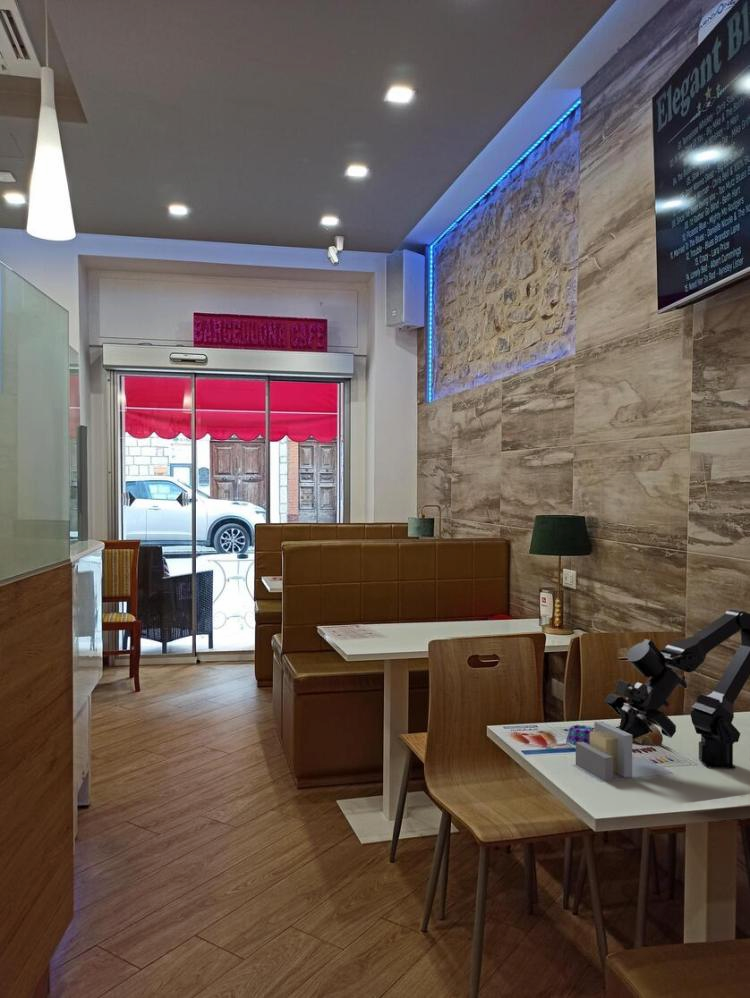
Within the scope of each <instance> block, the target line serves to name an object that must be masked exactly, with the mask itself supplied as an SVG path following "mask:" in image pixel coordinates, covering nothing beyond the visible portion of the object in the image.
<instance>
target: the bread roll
mask: <svg viewBox="0 0 750 998" xmlns="http://www.w3.org/2000/svg"><path fill="white" fill-rule="evenodd" d="M651 730H652V731H653V732H652V733H647V734H645V735H642V736H639V737H637V738H635V739H633V740H632V744H633V743H634V744H641V745H642V744H643V745H651V746H652V745H654V746H656V747H659V748H661V747H662V745H663V744H662V743H663V741H664V737H663V736H664V735H663V734H662V732H661V731H660V729H659V728H658V726H657V725H654V726H653V727H652V729H651Z"/></svg>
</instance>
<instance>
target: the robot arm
mask: <svg viewBox="0 0 750 998" xmlns="http://www.w3.org/2000/svg"><path fill="white" fill-rule="evenodd" d="M739 631H740V641H741V643H740V644H739V647H738V648H737V650H736V652H735V654H734V656H733V657H732V659H731V661H730V662H729V664H728V665H727V667H726V668H725V670H724V672H723V674H722V676H721V677H720V679H719V681H718V683H717V684H716V686H715V688H714V689H713V691H712V692H711V693H709V694H708V695H706V694H703V693H700V694H699V695H698V696H697V698H696V701H695V703H694V704H693V705H692V706H691V709H692V710H691V712H690V719H691V723H692V724H693V727H694V729H695V734H698V735H700V738H701V739H700V740H699V742H698V760H699V761H700V762H701V763H702V764H703V765H704V766H705V767H706V768H714V769H715V768H716V769H736V768H737V767H736V765H735V764H734V758H733V757H734V744H735V743H738V742H739V739H740V737H741V732H740V731H739V730H738V729H737V727H735V726H734V725H733V723H732V722H733V720H734V718H735V714H734V713H735V712H734V704H735V702H736V701H737V698H738V696H739V694H740V693H741V692H742V690H743V688H744V686H745V684H746V683H747V681H748V679H749V678H750V613H748V612H747V611H744V610H738V609H734V608H733V609H729V610H726V611H725V612H724V614H723V615H722V616H720V617H719V618H717V619H716V620H714V621H713V622H711V623H710V624H708V625H707V626H706V627H704V628H703V629H701V630H700V631H699V632H697V633H695V634H694V635H693V636H690V637H686V638H681V639H678V640H676V641H673V642H671V643H668V644H666V646H665V647H664V648H662V649H658V648H657V646H656V644H655V643H654V642H653V640H650V639H646V638H644V639H643V641H642V642H639V643H636V644H635V645H633V646H632V647H630V648H629V650H628V651H627V654H626V659H627V660H628V661H629V662H630V663H631V664H632V666H633V668H635V669H636V670H637V671H638V672H639V673H640V674H641V675H642V676H643V677H644V678H648V679H647V680H646V681H645V683H642V682H636V683H635V684H632V683H631V682H627V681H624V680H622V679H618V680H617V682H616V685H615V686H614V687H615V688H614V690H613V693H608V695H607V696H606V697H605V699H604V702H605V703H606V704H607V705H608V707H610V708H611V710H613V711H614V713H616V714H617V715H618V716H620V724H619V727H618V729H620V730H622V731H625V732H627V733H629V734H631V735H632V740H633V739H635V738H637V737H639V736H642V735H645V734H647V733H652V732H653V731H652V730H651V729H652V727H653V726H654V725H655V726H656V727H660V730H661V731H660V732H661V734H662V736H666V737H668V738H670V739H672V738H673V737H674V735H675V733H676V732H677V725H676V724H675V723H674V722H673V721H672V719H670V717H668V715H667V714H666V713H665V712H663V711H660V710H661V709H662V707H665V708H668V707H669V705H670V703H669V702H668V699H669V698H670V696H671V695H672V694H673V692H674V691H675V690H676V689H677V687H679V688H680V687H681V688H683V689H687V687H688V686H687V681H686V676H685V675H683V674H680V673H678V672H677V671H678V670H679V671H682V672H685V673H689V674H690V673H693V672H695V671H696V670H697V669H698V668H699V667H700V666H701V665H703V663H704V662H705V659H706V656H707V655H708V653H709V652H711V651H713V650H714V649H715V648H716V647H718V646H720V645H721V644H722V643H724V642H725V641H727V640H728V639H729V638H731V637H732V636H733V635H735V634H737V633H738V632H739ZM676 670H677V671H676ZM618 694H619V695H618ZM624 697H625V698H624Z"/></svg>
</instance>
